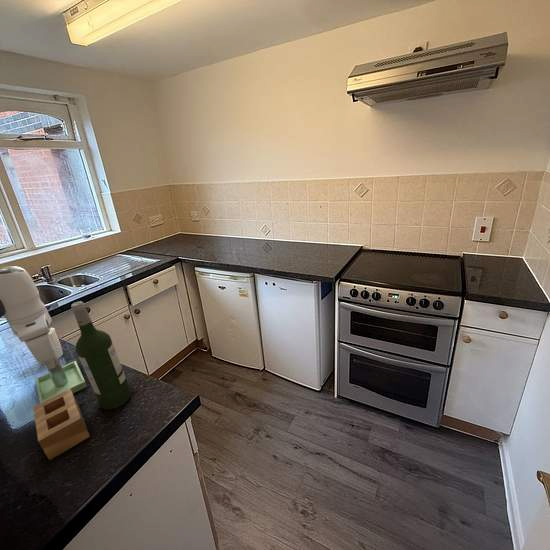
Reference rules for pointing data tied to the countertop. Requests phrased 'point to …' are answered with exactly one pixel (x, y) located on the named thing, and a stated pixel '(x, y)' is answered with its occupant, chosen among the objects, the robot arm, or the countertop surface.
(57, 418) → the holder
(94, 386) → the wine bottle
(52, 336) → the white cup
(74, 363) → the tray
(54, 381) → the canister
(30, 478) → the countertop surface
